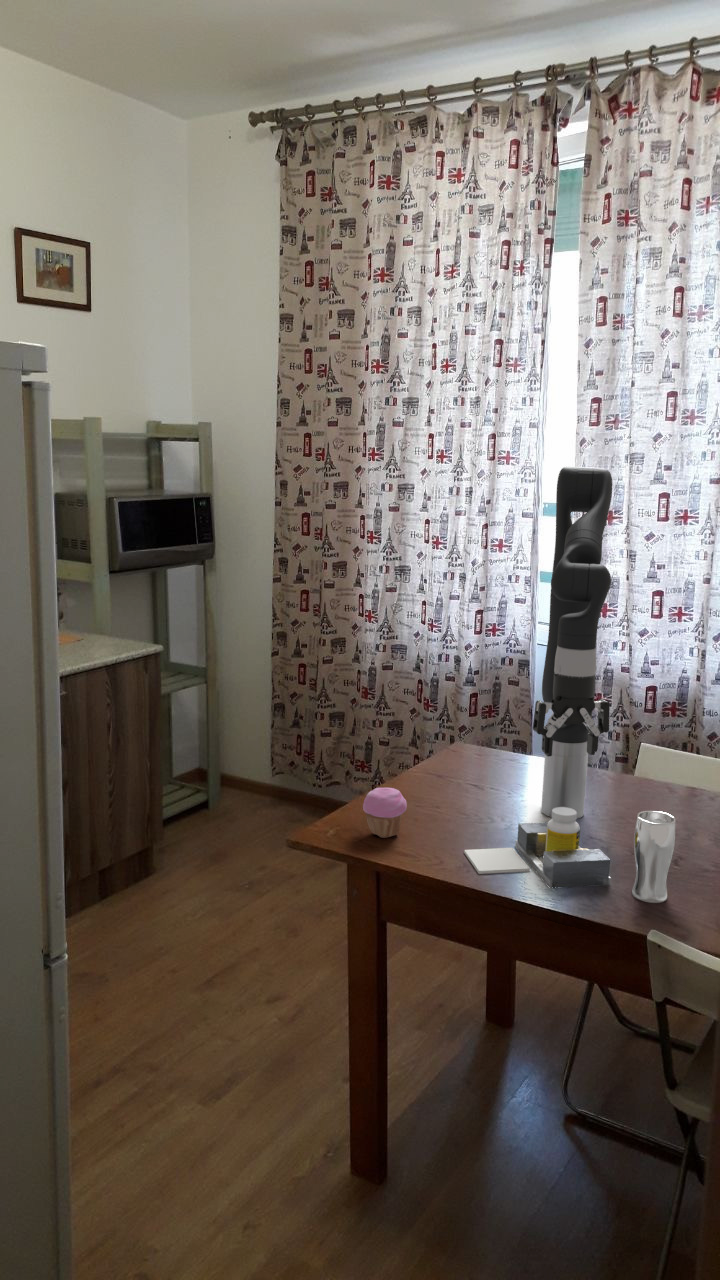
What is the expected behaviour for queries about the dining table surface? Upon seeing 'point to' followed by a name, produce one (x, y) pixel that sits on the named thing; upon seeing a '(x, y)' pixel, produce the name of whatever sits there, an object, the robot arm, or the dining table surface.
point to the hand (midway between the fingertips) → (569, 754)
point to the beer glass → (653, 854)
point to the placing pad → (496, 860)
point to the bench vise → (562, 860)
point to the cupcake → (384, 811)
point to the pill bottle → (562, 830)
